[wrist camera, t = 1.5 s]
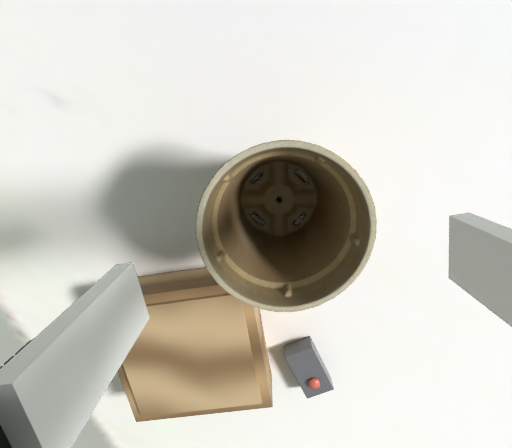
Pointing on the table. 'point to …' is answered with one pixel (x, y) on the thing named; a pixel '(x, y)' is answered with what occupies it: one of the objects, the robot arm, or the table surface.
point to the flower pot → (286, 226)
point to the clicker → (308, 367)
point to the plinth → (195, 351)
